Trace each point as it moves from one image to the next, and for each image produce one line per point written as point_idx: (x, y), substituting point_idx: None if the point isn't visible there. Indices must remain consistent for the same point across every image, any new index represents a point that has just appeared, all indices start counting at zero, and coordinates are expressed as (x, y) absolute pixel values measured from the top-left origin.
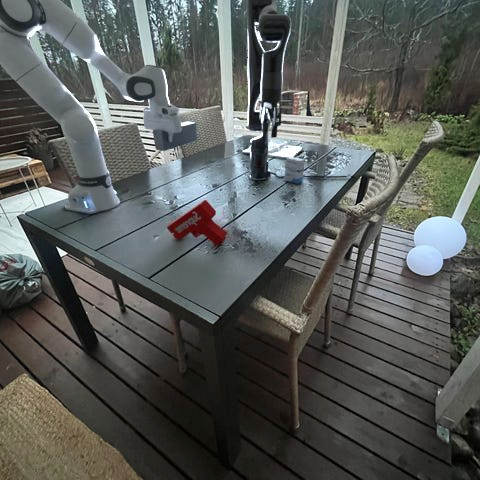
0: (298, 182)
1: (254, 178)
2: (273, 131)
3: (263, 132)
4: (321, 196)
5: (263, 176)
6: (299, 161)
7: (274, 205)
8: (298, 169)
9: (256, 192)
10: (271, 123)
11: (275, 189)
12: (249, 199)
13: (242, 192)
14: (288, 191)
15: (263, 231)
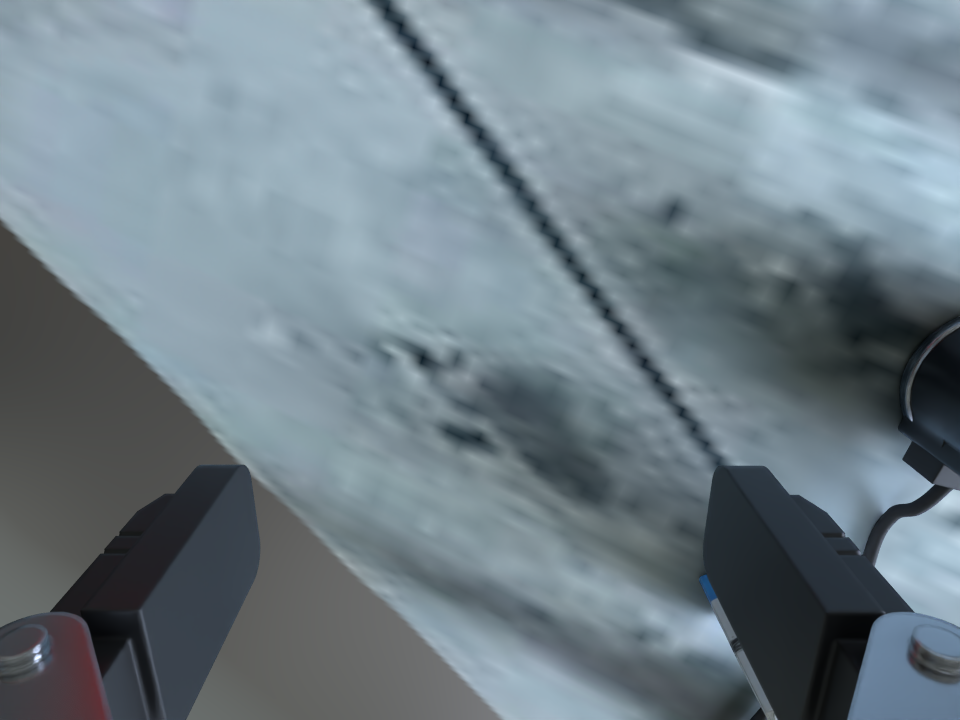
0: (703, 588)
1: (952, 331)
2: (96, 561)
3: (715, 482)
4: (461, 608)
5: (920, 406)
6: (773, 711)
7: (432, 281)
8: (744, 654)
9: (701, 247)
10: (33, 689)
11: (688, 403)
12: (599, 140)
13: (755, 133)
14: (615, 469)
15: (75, 41)
